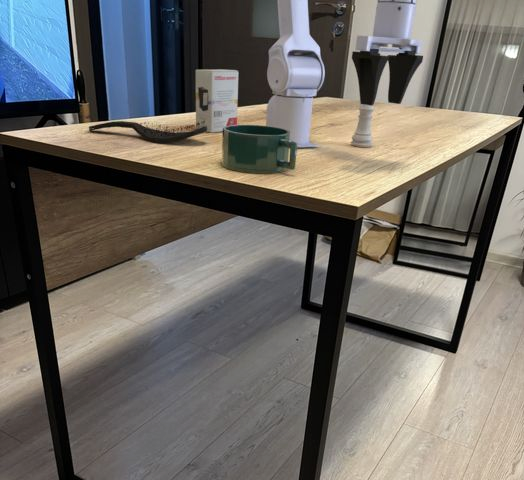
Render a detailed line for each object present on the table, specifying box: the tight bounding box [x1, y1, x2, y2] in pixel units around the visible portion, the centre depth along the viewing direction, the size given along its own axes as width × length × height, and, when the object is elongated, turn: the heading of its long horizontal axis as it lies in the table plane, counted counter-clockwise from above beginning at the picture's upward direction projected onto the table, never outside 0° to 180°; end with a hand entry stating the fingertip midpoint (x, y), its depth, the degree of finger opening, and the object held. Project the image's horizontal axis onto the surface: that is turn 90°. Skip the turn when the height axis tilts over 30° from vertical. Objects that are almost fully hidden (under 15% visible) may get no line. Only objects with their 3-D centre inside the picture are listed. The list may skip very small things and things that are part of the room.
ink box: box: [195, 69, 239, 134], centre depth 114 cm, size 9×5×12 cm, turn 141°
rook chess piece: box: [350, 103, 375, 148], centre depth 108 cm, size 4×4×8 cm
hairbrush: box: [88, 120, 207, 144], centre depth 103 cm, size 8×4×25 cm
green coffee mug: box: [221, 124, 298, 174], centre depth 84 cm, size 14×11×6 cm
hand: (380, 103), depth 86 cm, fingers open, 7 cm apart
